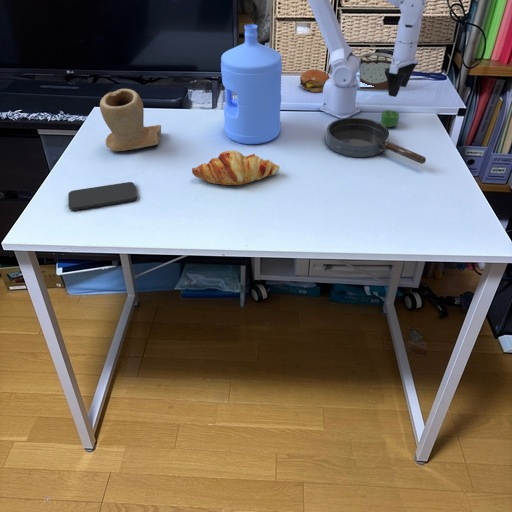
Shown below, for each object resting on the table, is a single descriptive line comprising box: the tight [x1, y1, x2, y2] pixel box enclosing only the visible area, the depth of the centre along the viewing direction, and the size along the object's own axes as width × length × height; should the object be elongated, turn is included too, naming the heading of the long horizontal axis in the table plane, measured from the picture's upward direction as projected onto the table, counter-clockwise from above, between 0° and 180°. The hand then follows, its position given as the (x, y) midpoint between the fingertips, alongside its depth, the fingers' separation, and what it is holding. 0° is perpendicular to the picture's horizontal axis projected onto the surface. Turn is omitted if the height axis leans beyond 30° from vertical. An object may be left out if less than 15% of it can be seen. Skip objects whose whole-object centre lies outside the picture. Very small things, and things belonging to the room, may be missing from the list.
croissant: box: [191, 150, 281, 186], centre depth 119 cm, size 21×10×8 cm, turn 98°
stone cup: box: [99, 88, 162, 152], centre depth 128 cm, size 15×12×15 cm
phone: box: [67, 181, 138, 211], centre depth 114 cm, size 7×1×15 cm
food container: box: [358, 52, 393, 92], centre depth 158 cm, size 12×6×10 cm, turn 84°
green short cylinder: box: [380, 109, 400, 128], centre depth 139 cm, size 5×5×4 cm
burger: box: [299, 69, 330, 93], centre depth 160 cm, size 10×9×5 cm
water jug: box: [220, 23, 283, 145], centre depth 129 cm, size 16×16×28 cm
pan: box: [325, 116, 390, 158], centre depth 132 cm, size 16×16×4 cm
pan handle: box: [380, 141, 427, 165], centre depth 123 cm, size 12×2×2 cm, turn 43°
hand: (397, 90), depth 138 cm, fingers open, 7 cm apart
